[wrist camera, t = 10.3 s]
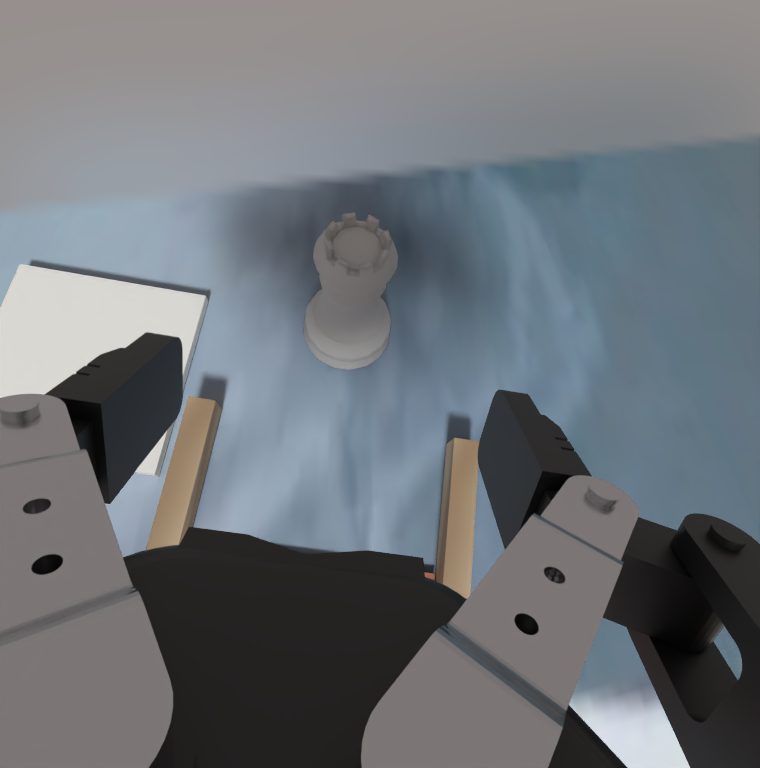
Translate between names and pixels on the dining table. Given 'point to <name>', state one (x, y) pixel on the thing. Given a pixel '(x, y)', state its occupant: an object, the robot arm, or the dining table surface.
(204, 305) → the tile
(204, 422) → the wooden u-shaped frame
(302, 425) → the dining table surface
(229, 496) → the dining table surface
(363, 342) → the rook chess piece
